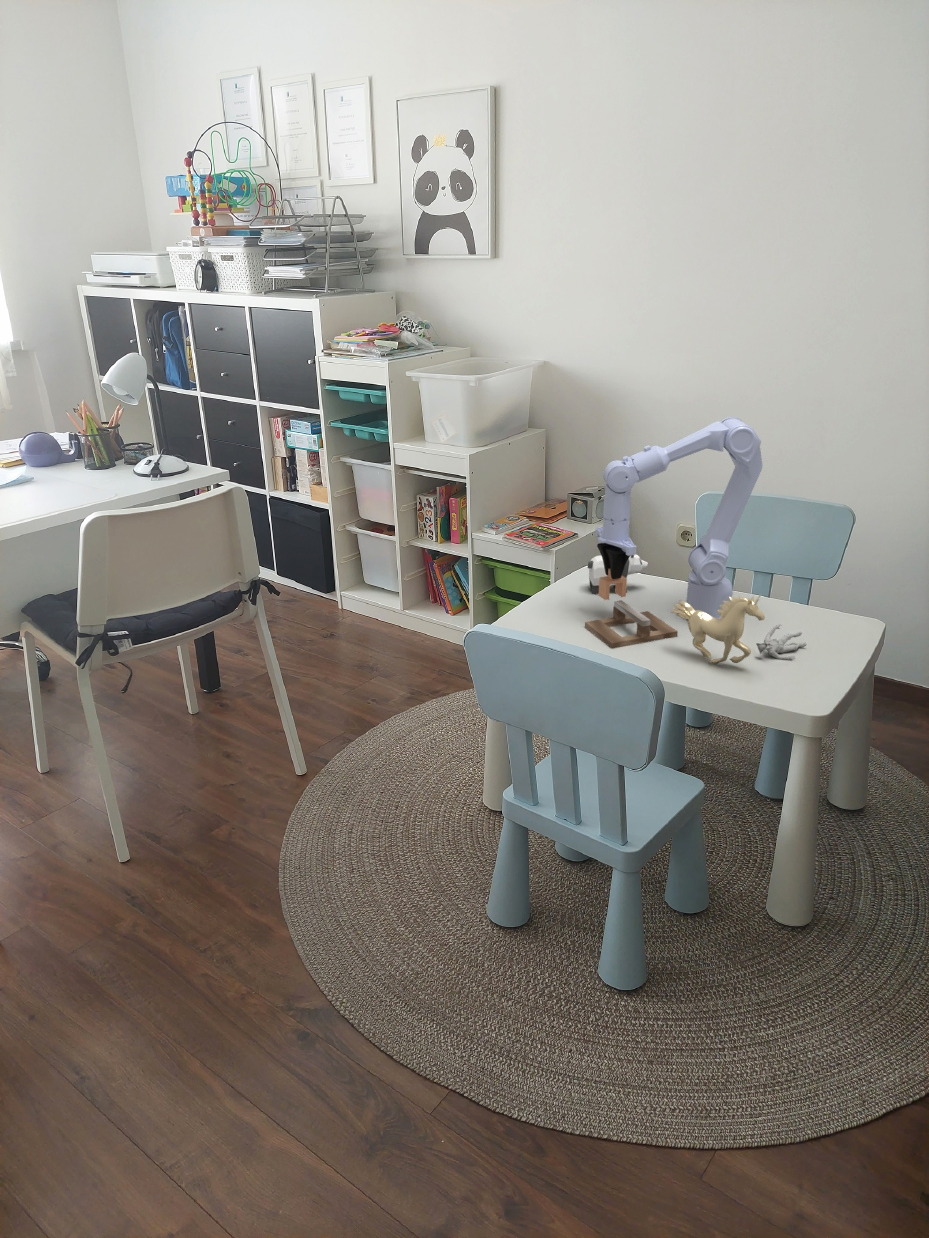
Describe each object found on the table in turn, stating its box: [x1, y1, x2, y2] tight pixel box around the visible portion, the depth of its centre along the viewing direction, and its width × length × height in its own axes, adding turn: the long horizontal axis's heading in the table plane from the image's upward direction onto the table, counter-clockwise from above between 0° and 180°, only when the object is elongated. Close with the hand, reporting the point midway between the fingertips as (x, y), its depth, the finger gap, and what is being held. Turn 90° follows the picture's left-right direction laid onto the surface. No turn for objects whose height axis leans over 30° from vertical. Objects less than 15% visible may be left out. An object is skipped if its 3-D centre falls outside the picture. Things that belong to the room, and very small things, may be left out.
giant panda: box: [587, 553, 649, 595], centre depth 215 cm, size 15×6×10 cm, turn 94°
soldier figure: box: [755, 624, 807, 661], centre depth 183 cm, size 8×5×12 cm
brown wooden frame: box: [584, 599, 679, 649], centre depth 193 cm, size 16×12×5 cm
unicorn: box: [670, 593, 766, 665], centre depth 177 cm, size 20×4×17 cm, turn 47°
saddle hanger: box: [598, 569, 628, 601], centre depth 198 cm, size 5×3×6 cm, turn 111°
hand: (613, 576), depth 198 cm, fingers closed on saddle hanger, 2 cm apart
